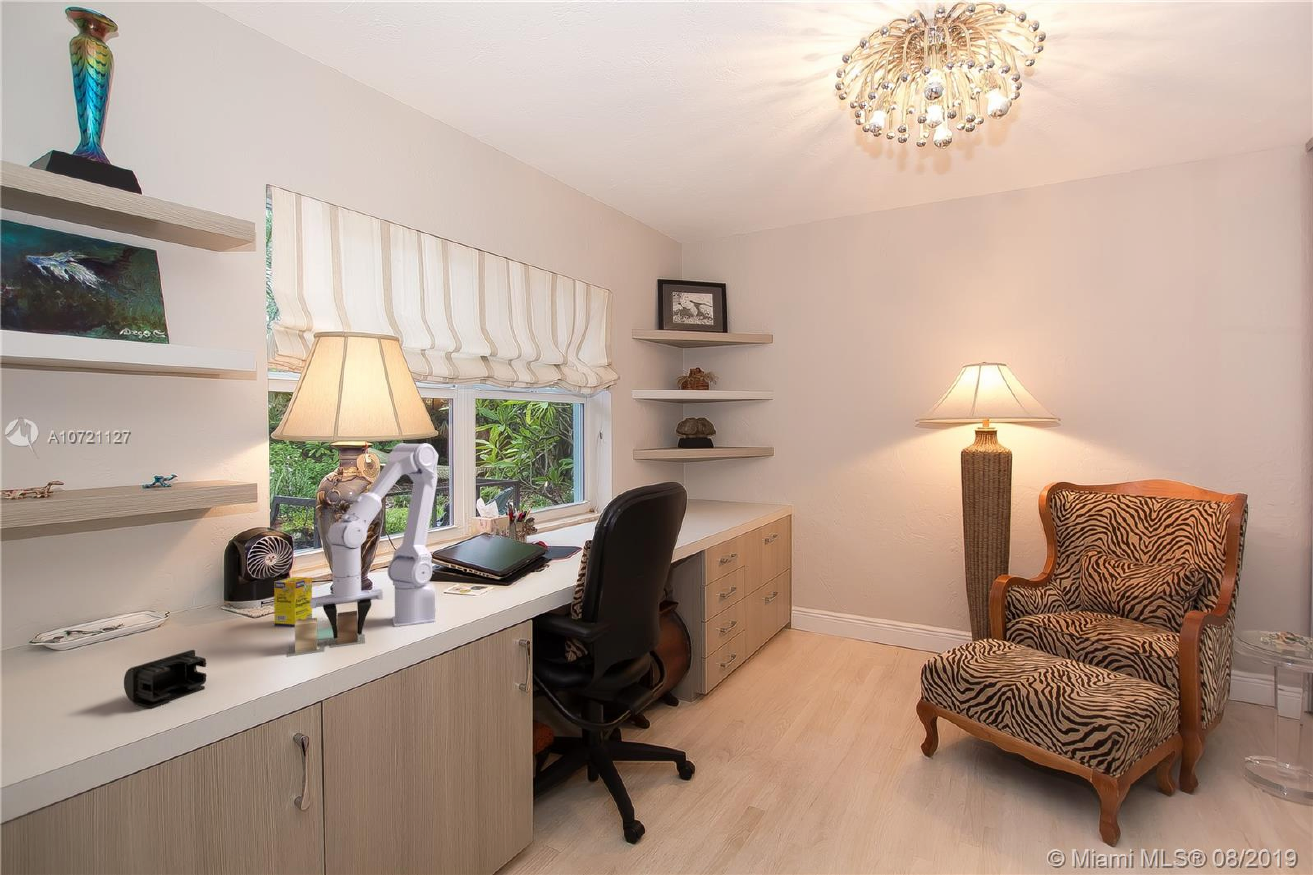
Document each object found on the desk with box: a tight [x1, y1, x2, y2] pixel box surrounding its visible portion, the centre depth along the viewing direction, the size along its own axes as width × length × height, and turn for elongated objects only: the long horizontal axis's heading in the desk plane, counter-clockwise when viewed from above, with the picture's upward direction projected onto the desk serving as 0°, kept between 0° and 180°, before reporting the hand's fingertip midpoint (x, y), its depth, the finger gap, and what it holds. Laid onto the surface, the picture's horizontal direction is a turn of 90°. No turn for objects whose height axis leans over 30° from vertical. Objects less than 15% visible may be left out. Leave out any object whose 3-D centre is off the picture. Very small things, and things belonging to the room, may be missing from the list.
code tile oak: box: [286, 641, 326, 658], centre depth 137 cm, size 7×7×1 cm
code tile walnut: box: [329, 633, 366, 649], centre depth 143 cm, size 7×7×1 cm
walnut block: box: [337, 610, 358, 645], centre depth 143 cm, size 4×4×6 cm
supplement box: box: [273, 576, 313, 628], centre depth 156 cm, size 6×6×11 cm
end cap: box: [123, 649, 208, 710], centre depth 114 cm, size 10×7×7 cm
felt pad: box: [317, 626, 334, 641], centre depth 147 cm, size 9×9×1 cm
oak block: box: [294, 617, 318, 653], centre depth 137 cm, size 4×4×6 cm
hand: (347, 635), depth 143 cm, fingers closed on walnut block, 4 cm apart
